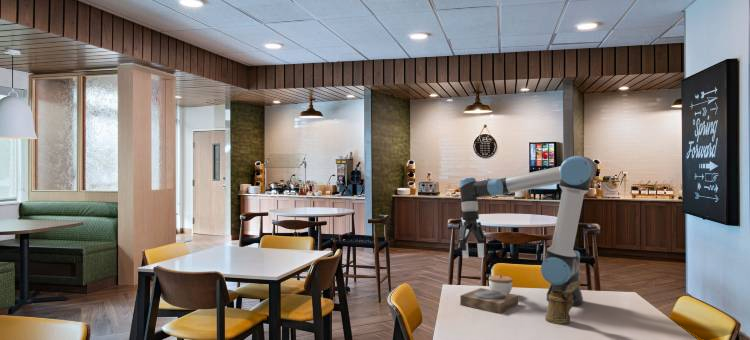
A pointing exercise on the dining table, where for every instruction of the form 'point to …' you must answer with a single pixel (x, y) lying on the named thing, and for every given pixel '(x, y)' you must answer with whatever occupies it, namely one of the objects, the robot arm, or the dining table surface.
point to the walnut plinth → (489, 300)
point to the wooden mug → (561, 304)
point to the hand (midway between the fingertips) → (473, 257)
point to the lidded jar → (500, 283)
